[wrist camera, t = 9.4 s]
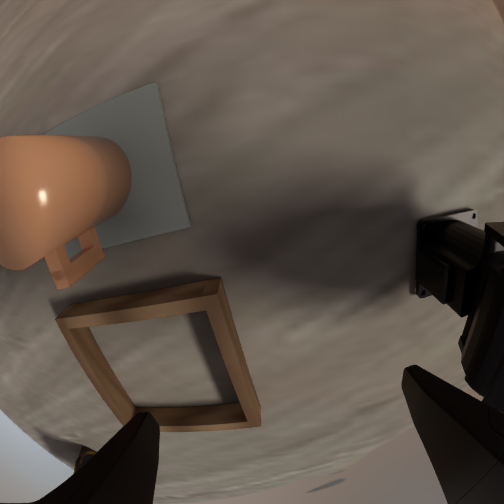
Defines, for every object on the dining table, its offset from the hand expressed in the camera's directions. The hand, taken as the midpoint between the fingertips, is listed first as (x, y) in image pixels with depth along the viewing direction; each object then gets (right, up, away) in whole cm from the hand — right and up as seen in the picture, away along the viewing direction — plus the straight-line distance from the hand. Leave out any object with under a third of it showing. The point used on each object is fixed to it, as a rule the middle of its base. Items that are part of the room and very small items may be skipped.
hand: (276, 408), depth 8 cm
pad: (-12, +10, +9) cm, 18 cm away
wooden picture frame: (-8, -5, +14) cm, 17 cm away
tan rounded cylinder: (-12, +10, +9) cm, 18 cm away
